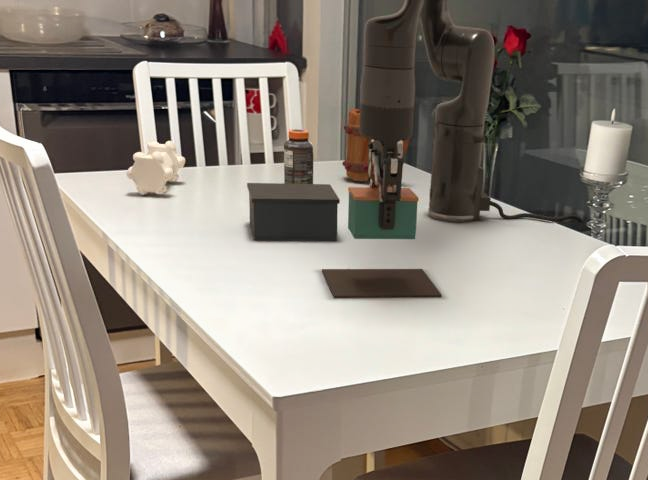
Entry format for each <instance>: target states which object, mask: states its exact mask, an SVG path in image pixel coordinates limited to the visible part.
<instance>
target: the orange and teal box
mask: <svg viewBox="0 0 648 480" xmlns="http://www.w3.org/2000/svg"><path fill="white" fill-rule="evenodd" d="M347 191H348V211H347V214H348V217H347V218H348V219H347V222H348V223H347V229H348V230H349V232H350V234H351V235H352V237H353V239H354V240H416V234H417V217H418V202H419V199H420V197H418V195H416V193H415V192H414V191H413V190H412V189H411V188H410V187H401V199H400V201H397V203H396V206H395V226H394V228H393V229H391V230H389V229H380V227H379V203H380V202H379V188H373V187H369V186H368V187H367V186H366V187H365V186H363V187H362V186H348V187H347ZM387 192H392V188H387Z"/></svg>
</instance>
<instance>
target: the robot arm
mask: <svg viewBox="0 0 648 480" xmlns="http://www.w3.org/2000/svg"><path fill="white" fill-rule="evenodd" d="M419 24H420V26H421V31H422V36H423V40H424V41H423V42H424V46H425V50H426V55H427V58H428V62H429V65H430V68H431V70H432V72H433V73H434V75H435V76H436V77H437V78H438V79H440V80H443V81H446V82H452V83H459V84H462V85H461V89H460V93H459V95H458V96H457V97H455V98H453V99H451V100H447V101H445V102H444V101H443V102H440V103H439V104H437V105H436V107H435V111H434V114H435V115H434V126H433V142H432V143H433V144H432V157H431V158H432V159H431V170H430V171H431V173H430V186H429V187H430V188H429V192H428V193H429V195H428V197H429V201H428V210H427V211H428V212H427V214H428V216H429V217H431V218H433V219H436V220H440V221H444V222H445V221H446V222H454V223H455V222H456V223H457V222H459V223H461V222H471V221H480V216H481V212H490V210H491V207H494V208H495V209H496V210H497V211H498V214H499V216H500V217H501V218H502V219H504V220H518V219H523V218H526V219H527V218H528V219H536V220H541V221H547V222H563V221H566V220H571V219H574V220H576V221H577V222H578V223H581V224H585V221H584V220H583V218H582V217H581V216H579V215H577V214H574V213H570V214H566V215H561V216H548V215H543V214H536V213H530V212H522V213H517V214H513V215H509V214H508V215H507V214H505V213H504V210H503V208H502V206H501V205H500V204H499V203H497V202H495V201H492V200H491V197H490V196H489V195H488V194H486V192H484V191H483V182H484V171H485V169H484V168H483V167H482V158H483V157H482V156H483V147H484V146H483V145H484V144H483V143H484V133H485V122H486V115H487V112H488V108H489V104H490V96H491V89H492V81H493V75H494V66H495V58H496V55H495V54H496V47H495V41H494V38H493V34H492V33H491V32H490V31H489V30H487V29H484V28H479V27H469V26H460V25H456V24H455V23H454V22H453V21H452V17H451V15H450V10H449V6H448V0H404V3H403V5H402V7H401V8H400V9H399V10H398V11H397V12H395V13H392V14H387V15H381V16H380V15H379V16H375V17H372V18H371V17H370V18H369V19H367V20H366V22H365V25H364V31H363V53H362V54H363V55H362V56H363V57H362V59H363V61H362V73H361V78H360V91H359V92H360V95H359V110H360V124H359V133H360V135H361V136H363V137H365V138H368V139H373V140H374V142H372V141H369V144H368V179H367V180H368V181H367V183H368V184H369V185H368V187H373V188H379V202H380V203H379V227H380V229H389V230H391V229H393V228H394V226H395V206H396V203H397V201H400V199H401V188H402V182H403V171H404V170H403V169H404V159H403V157H402V158H401V153H398V146H397V144H398V142H399V141H401V140H402V141H405V140H409V141H410V140H411V139H412V137H413V134H414V119H415V117H414V115H415V100H416V75H415V74H416V73H415V65H416V51H417V50H416V45H417V37H418V36H417V34H418V27H419ZM374 169H375V170H374ZM388 187H392V192H387V188H388Z"/></svg>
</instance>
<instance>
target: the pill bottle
mask: <svg viewBox="0 0 648 480" xmlns="http://www.w3.org/2000/svg"><path fill="white" fill-rule="evenodd" d="M309 135H310V134H309V130H307V129H299V128H297V129H296V128H295V129H293V128H292V129H289V130H288V139H287V140H286V141H285V142H284V143H283V171H284V172H283V177H284V178H283V179H284V183H283V184H314V144H313V143H312V142H311V141H310V140H309V138H310V136H309Z"/></svg>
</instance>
